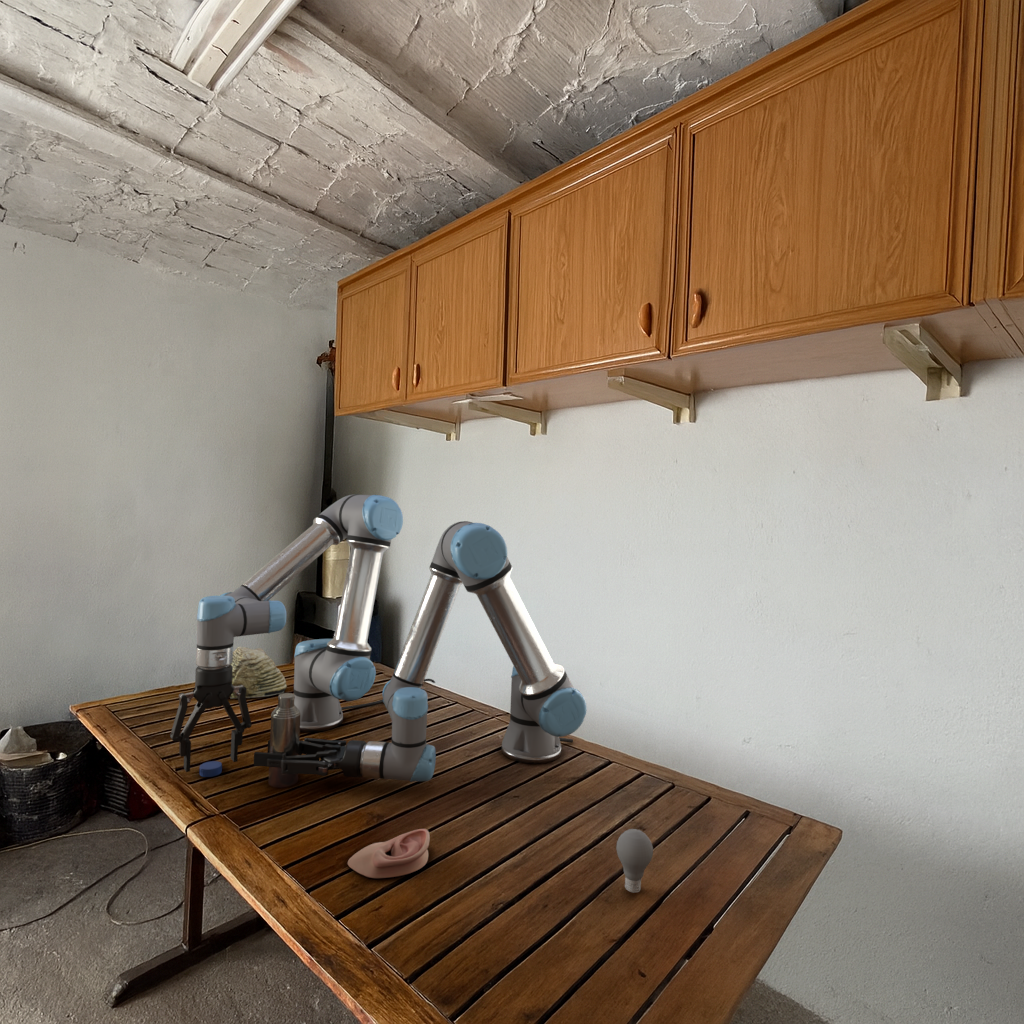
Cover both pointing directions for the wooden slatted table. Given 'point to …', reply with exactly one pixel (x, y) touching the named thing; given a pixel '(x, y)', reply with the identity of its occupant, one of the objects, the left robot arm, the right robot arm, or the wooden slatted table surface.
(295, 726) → the bottle
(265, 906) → the wooden slatted table surface
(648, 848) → the light bulb
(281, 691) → the fossil
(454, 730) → the wooden slatted table surface
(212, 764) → the cap
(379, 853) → the anatomical model
